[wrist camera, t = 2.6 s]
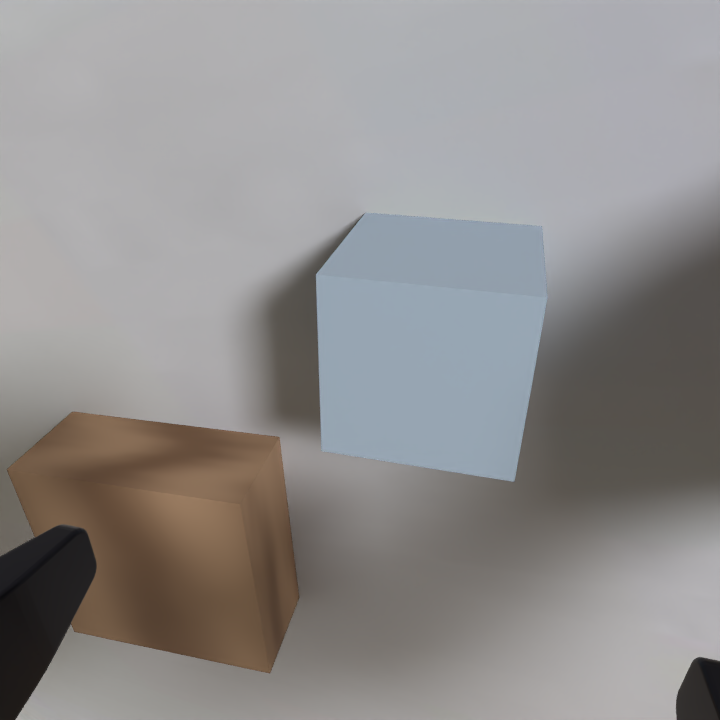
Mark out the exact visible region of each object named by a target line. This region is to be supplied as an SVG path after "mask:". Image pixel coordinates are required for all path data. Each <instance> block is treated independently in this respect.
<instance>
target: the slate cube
mask: <svg viewBox="0 0 720 720" xmlns="http://www.w3.org/2000/svg"><path fill="white" fill-rule="evenodd" d="M316 295H317V326H318V357H319V389H320V420H321V451H324V452H330V453H337V454H343V455H349V456H355V457H362V458H368V459H374V460H381V461H387V462H393V463H399V464H406V465H412V466H418V467H424V468H431V469H437V470H443V471H449V472H456V473H462V474H468V475H475V476H481V477H487V478H493V479H500V480H506V481H512V482H514V481H515V476H516V470H517V465H518V459H519V454H520V448H521V442H522V437H523V431H524V426H525V420H526V415H527V409H528V404H529V398H530V392H531V387H532V381H533V376H534V370H535V365H536V359H537V354H538V348H539V342H540V337H541V331H542V326H543V320H544V315H545V309H546V303H547V298H548V297H547V284H546V271H545V258H544V245H543V233H542V226H532V225H519V224H506V223H493V222H480V221H467V220H454V219H441V218H428V217H415V216H402V215H389V214H376V213H365V214H364V215H363V216H362V218H361V219H360V220H359V221H358V223H357V224H356V225H355V226H354V228H353V229H352V230H351V231H350V233H349V234H348V235H347V236H346V238H345V239H344V240H343V241H342V243H341V244H340V245H339V246H338V248H337V249H336V250H335V251H334V253H333V254H332V255H331V256H330V258H329V259H328V260H327V261H326V263H325V264H324V265H323V266H322V268H321V269H320V270H319V271H318V273H317V274H316Z"/></svg>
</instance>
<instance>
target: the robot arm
mask: <svg viewBox="0 0 720 720" xmlns="http://www.w3.org/2000/svg"><path fill="white" fill-rule="evenodd" d="M96 569H97V562H96V558H95V555H94V552H93V548H92V545H91V542H90V539H89V535H88V533H87V531H86V530H85V529H83V528H81V527H76V526H71V525H66V524H61V525H57V526H55V527H53V528H51V529H49V530H47V531H46V532H44V533H42V534H40V535H38V536H37V537H35V538H33V539H31V540H29V541H27V542H26V543H24V544H22V545H20V546H18V547H17V548H15V549H13V550H11V551H9V552H7V553H6V554H4V555H2V556H0V720H15V719H16V718H17V716H18V715H19V713H20V712H21V710H22V708H23V707H24V705H25V704H26V702H27V700H28V699H29V697H30V696H31V694H32V693H33V691H34V689H35V688H36V686H37V685H38V683H39V681H40V680H41V678H42V676H43V675H44V673H45V671H46V670H47V668H48V666H49V664H50V663H51V661H52V659H53V657H54V655H55V653H56V651H57V650H58V648H59V646H60V644H61V642H62V640H63V638H64V636H65V634H66V632H67V630H68V628H69V626H70V624H71V622H72V620H73V618H74V616H75V614H76V612H77V610H78V609H79V607H80V605H81V603H82V601H83V599H84V597H85V595H86V593H87V591H88V589H89V587H90V585H91V583H92V581H93V579H94V577H95V574H96ZM676 715H677V720H720V661H717V660H712V659H708V658H703V657H698V658H696V659H694V660H693V662H692V663H691V666H690V668H689V670H688V672H687V674H686V676H685V678H684V680H683V682H682V684H681V687H680V689H679V691H678V694H677V699H676Z"/></svg>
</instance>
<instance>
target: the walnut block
mask: <svg viewBox="0 0 720 720" xmlns="http://www.w3.org/2000/svg"><path fill="white" fill-rule="evenodd" d="M7 471H8V474H9V476H10V478H11V481H12V483H13V486H14V488H15V490H16V493H17V495H18V498H19V500H20V502H21V505H22V507H23V510H24V512H25V514H26V517H27V519H28V522H29V524H30V526H31V529H32V531H33V534H34V536H35V537H37V536H38V535H40V534H42V533H44V532H46V531H47V530H49V529H51V528H53V527H55V526H57V525H61V524H66V525H71V526H76V527H81V528H83V529H85V530H86V531H87V533H88V535H89V539H90V542H91V545H92V548H93V552H94V555H95V558H96V562H97V569H96V574H95V577H94V579H93V581H92V583H91V585H90V587H89V589H88V591H87V593H86V595H85V597H84V599H83V601H82V603H81V605H80V607H79V609H78V610H77V612H76V614H75V616H74V618H73V620H72V622H71V625H72V627H73V630H74V632H78V633H83V634H88V635H92V636H97V637H102V638H106V639H111V640H116V641H120V642H125V643H130V644H134V645H139V646H144V647H149V648H153V649H158V650H163V651H167V652H172V653H177V654H181V655H186V656H191V657H196V658H200V659H205V660H210V661H214V662H219V663H224V664H228V665H233V666H238V667H242V668H247V669H252V670H257V671H261V672H266V673H270V672H271V670H272V667H273V664H274V662H275V659H276V657H277V654H278V651H279V649H280V646H281V644H282V641H283V639H284V636H285V633H286V631H287V628H288V626H289V623H290V620H291V618H292V615H293V613H294V610H295V607H296V605H297V602H298V600H299V592H298V584H297V576H296V568H295V560H294V552H293V544H292V536H291V527H290V519H289V511H288V503H287V495H286V487H285V479H284V471H283V463H282V455H281V446H280V438H279V437H275V436H267V435H259V434H251V433H243V432H234V431H226V430H218V429H210V428H202V427H193V426H185V425H177V424H169V423H161V422H153V421H144V420H136V419H128V418H120V417H112V416H104V415H95V414H87V413H79V412H72V413H70V414H69V415H68V416H67V417H66V418H65V419H64V420H62V421H61V422H60V423H59V424H58V425H57V426H56V427H54V428H53V429H52V430H51V431H50V432H49V433H48V434H47V435H45V436H44V437H43V438H42V439H41V440H40V441H39V442H37V443H36V444H35V445H34V446H33V447H32V448H31V449H29V450H28V451H27V452H26V453H25V454H24V455H23V456H21V457H20V458H19V459H18V460H17V461H16V462H15V463H14V464H12V465H11V466H10V467H9V468H8V469H7Z"/></svg>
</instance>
